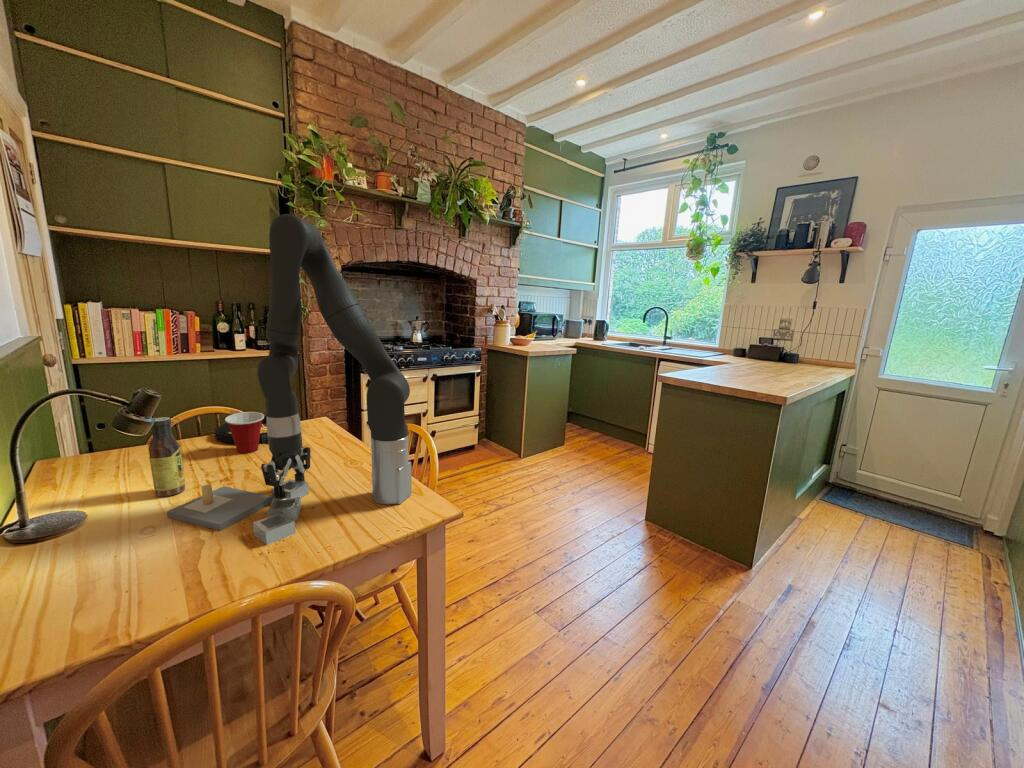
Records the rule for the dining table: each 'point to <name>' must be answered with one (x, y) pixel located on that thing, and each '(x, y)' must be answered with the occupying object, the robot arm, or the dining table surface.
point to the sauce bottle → (166, 460)
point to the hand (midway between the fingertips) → (290, 492)
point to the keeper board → (219, 507)
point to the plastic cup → (245, 430)
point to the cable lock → (226, 437)
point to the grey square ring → (294, 489)
